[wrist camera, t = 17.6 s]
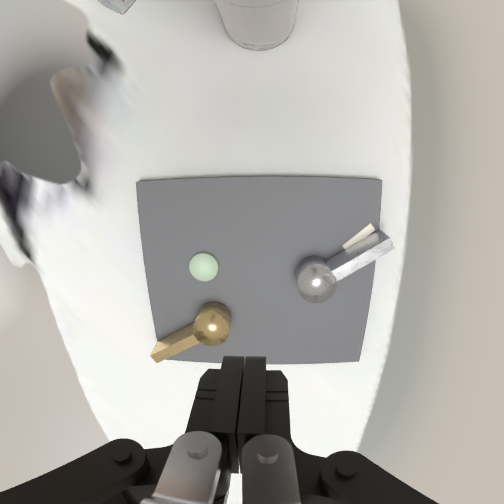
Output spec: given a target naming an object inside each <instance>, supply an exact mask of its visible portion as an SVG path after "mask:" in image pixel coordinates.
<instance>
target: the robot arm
mask: <svg viewBox="0 0 504 504" xmlns="http://www.w3.org/2000/svg"><path fill="white" fill-rule="evenodd" d="M215 3H216V5H217V8H218V10H219V13H220V16H221V18H222V21H223V24H224V26H225V29H226V32H227V33H228V35H229V37H230V38H231V39H232V40H233V41H234V42H235V43H237V44H238V45H240V46H242V47H244V48H247V49H251V50H267V49H271V48H274V47H276V46H278V45H280V44H282V43H283V42H284V41H285V40H286V39H287V38H288V37H289V36H290V34H291V32H292V29H293V25H294V21H295V17H296V12H297V7H298V3H299V0H215ZM239 464H240V472H241V474H242V496H243V504H438V503H437V502H435V501H433V500H431V499H430V498H428V497H426V496H425V495H423V494H421V493H420V492H418V491H417V490H415V489H413V488H411V487H410V486H408V485H407V484H405V483H404V482H402V481H400V480H399V479H397V478H396V477H394V476H393V475H391V474H390V473H388V472H387V471H385V470H384V469H382V468H381V467H379V466H378V465H376V464H375V463H373V462H372V461H370V460H369V459H367V458H366V457H365V456H363V455H361V454H360V453H357V452H354V451H339V452H336V453H333V454H331V455H330V456H328V457H327V458H325V457H320V456H315V455H310V454H307V453H305V452H303V451H301V450H300V449H298V448H297V447H296V446H295V445H294V443H293V441H292V439H291V434H290V415H289V397H288V381H287V379H286V377H285V376H284V374H283V373H282V371H281V370H266V356H246V358H245V357H244V356H224V357H223V361H222V366H221V369H208V370H207V371H206V372H205V373H204V374H203V376H202V377H201V378H200V381H199V385H198V388H197V392H196V395H195V399H194V403H193V406H192V410H191V414H190V417H189V421H188V425H187V428H186V431H185V434H183V435H181V436H180V437H179V438H178V439H177V440H176V441H175V442H174V444H172V445H170V446H167V447H162V448H153V449H143V447H142V446H141V445H140V444H139V443H137V442H136V441H134V440H131V439H116V440H113V441H111V442H109V443H107V444H105V445H103V446H101V447H99V448H97V449H95V450H94V451H91V452H90V453H88V454H86V455H84V456H82V457H80V458H77V459H75V460H73V461H71V462H69V463H67V464H65V465H63V466H61V467H59V468H57V469H54V470H52V471H50V472H48V473H46V474H43V475H41V476H39V477H37V478H34V479H32V480H30V481H27V482H25V483H23V484H20V485H18V486H15V487H13V488H10V489H8V490H5V491H3V492H0V504H226V502H227V498H228V493H229V486H230V477H231V473H237V474H239Z"/></svg>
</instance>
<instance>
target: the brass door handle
mask: <svg viewBox="0 0 504 504" xmlns="http://www.w3.org/2000/svg"><path fill="white" fill-rule="evenodd" d="M231 320H232V316H231V313H230V311H229V309H228V308H227V307H226V306H224V305H223V304H220V303H217V302H210V303H206V304H205V305H203V306H202V307H201V308H200V310H199V312H198V315H197V317H196V320H195V322H194V323H192V324H190V325H188V326H186V327H184V328H182V329H180V330H179V331H177V332H175V333H173V334H171V335H169V336H167V337H165V338H163V339H161V340H159V341H158V342H157V344H156V345H155V347H154V349H153V351H152V353H151V355H150V356H151V357H152V358H153V359H154V361H155V362H156V363H158V362H160V361H162V360H165V359H167V358H169V357H171V356H173V355H175V354H177V353H180V352H182V351H184V350H186V349H188V348H190V347H192V346H194V345H196V344H198V343H202V344H204V345H207V346H219V345H221V344H223V343H224V342H225V341H226V340H227V338H228V335H229V330H230V325H231Z"/></svg>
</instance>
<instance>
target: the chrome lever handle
mask: <svg viewBox="0 0 504 504" xmlns="http://www.w3.org/2000/svg"><path fill="white" fill-rule="evenodd" d="M392 249H394V246H393V243H392V241H391V239H390V237H389V236H387V235H386V234H385V233H384V232H382V231H381V230H378V231H376V232H374V233H373V234H371V235H369V236H368V237H366V238H364V239H362V240H361V241H359V242H357V243H356V244H354V245H352V246H350V247H349V248H347V249H345V250H343V251H342V252H340V253H338V254H336V255H335V256H333V257H331V258H329V259H328V260H324V259H323V258H321V257H317V256H312V257H308V258H306V259H304V260H302V261H301V262H300V263H299V265H298V266H297V268H296V272H295V276H296V281H297V287H298V291H299V294H300V296H301V297H302V298H303V299H304V300H306V301H307V302H310V303H322V302H325V301H327V300H328V299H329V298H331V297H332V295H333V294H334V293H335V290H336V287H337V281H339V280H341V279H342V278H344V277H346V276H348V275H349V274H351V273H353V272H355V271H357V270H358V269H360V268H362V267H363V266H365V265H367V264H369V263H370V262H372V261H374V260H376V259H377V258H379V257H381V256H382V255H384V254H386V253H387V252H389V251H391V250H392Z"/></svg>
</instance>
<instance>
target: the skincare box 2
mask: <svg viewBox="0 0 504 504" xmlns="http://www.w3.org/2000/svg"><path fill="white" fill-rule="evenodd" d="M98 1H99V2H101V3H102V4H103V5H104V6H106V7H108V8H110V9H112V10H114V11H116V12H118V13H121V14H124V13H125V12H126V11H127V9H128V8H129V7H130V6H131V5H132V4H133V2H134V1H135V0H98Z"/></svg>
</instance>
